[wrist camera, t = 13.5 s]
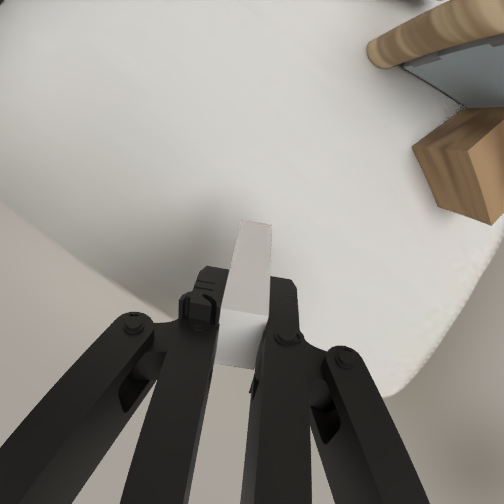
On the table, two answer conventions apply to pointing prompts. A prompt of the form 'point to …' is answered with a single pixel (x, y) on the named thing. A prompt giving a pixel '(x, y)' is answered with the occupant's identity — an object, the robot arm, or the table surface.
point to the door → (466, 71)
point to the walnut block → (467, 163)
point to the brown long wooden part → (438, 31)
